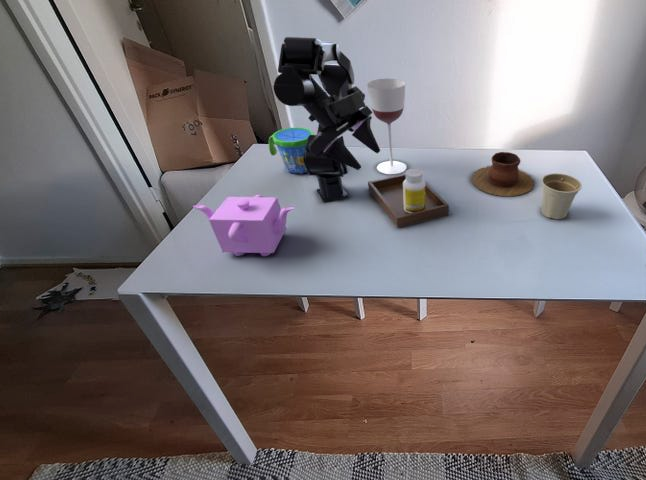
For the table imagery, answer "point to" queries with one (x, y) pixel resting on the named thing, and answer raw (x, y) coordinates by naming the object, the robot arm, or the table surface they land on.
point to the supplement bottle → (414, 191)
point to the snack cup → (291, 147)
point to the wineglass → (388, 113)
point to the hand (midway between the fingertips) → (369, 160)
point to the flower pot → (558, 194)
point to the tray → (392, 201)
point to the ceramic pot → (503, 176)
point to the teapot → (248, 224)
